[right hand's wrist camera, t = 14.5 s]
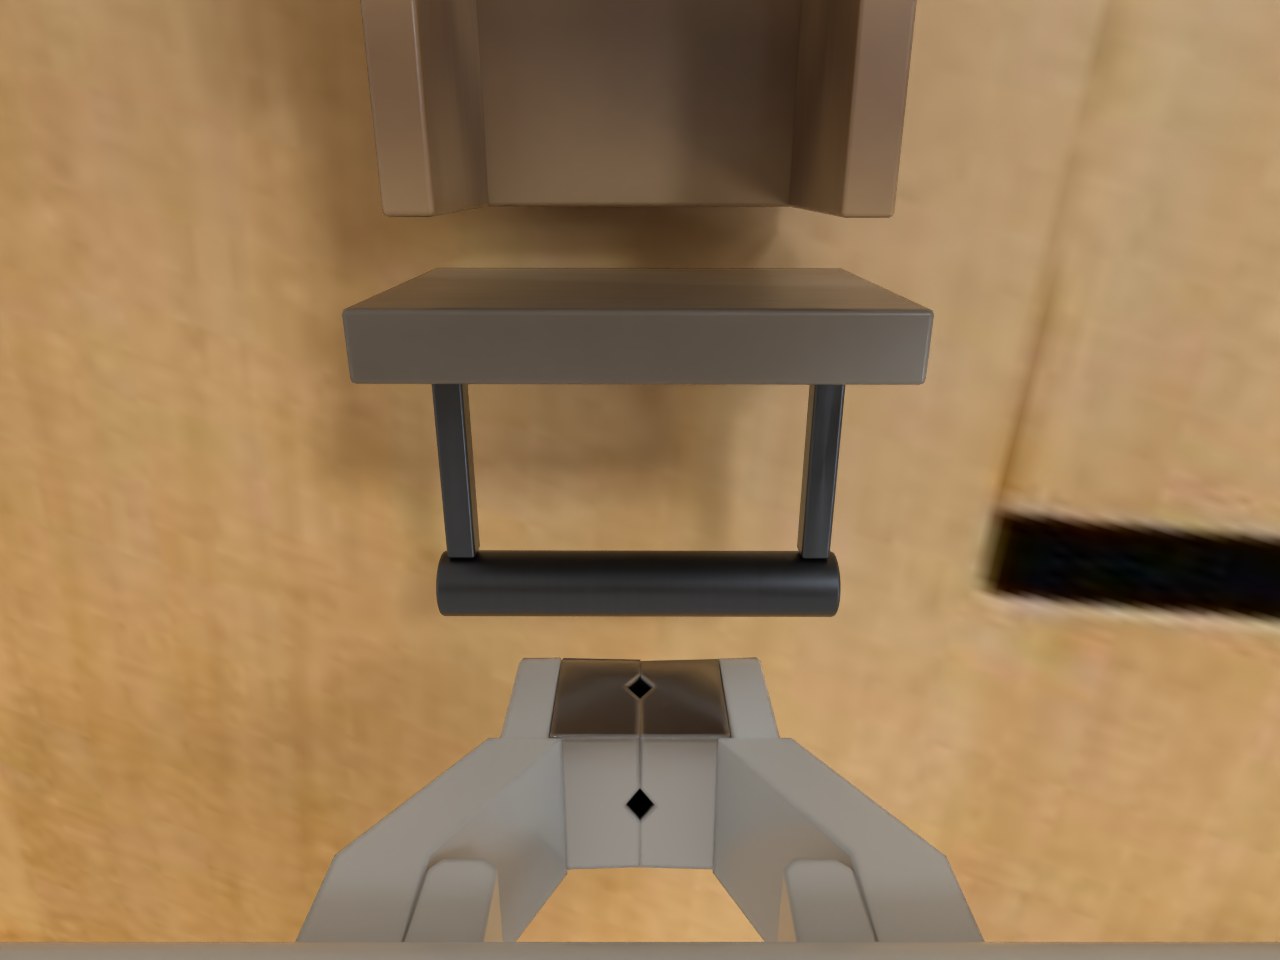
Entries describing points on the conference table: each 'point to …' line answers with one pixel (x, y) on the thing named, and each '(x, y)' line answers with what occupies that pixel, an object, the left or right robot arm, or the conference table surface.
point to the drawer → (638, 297)
